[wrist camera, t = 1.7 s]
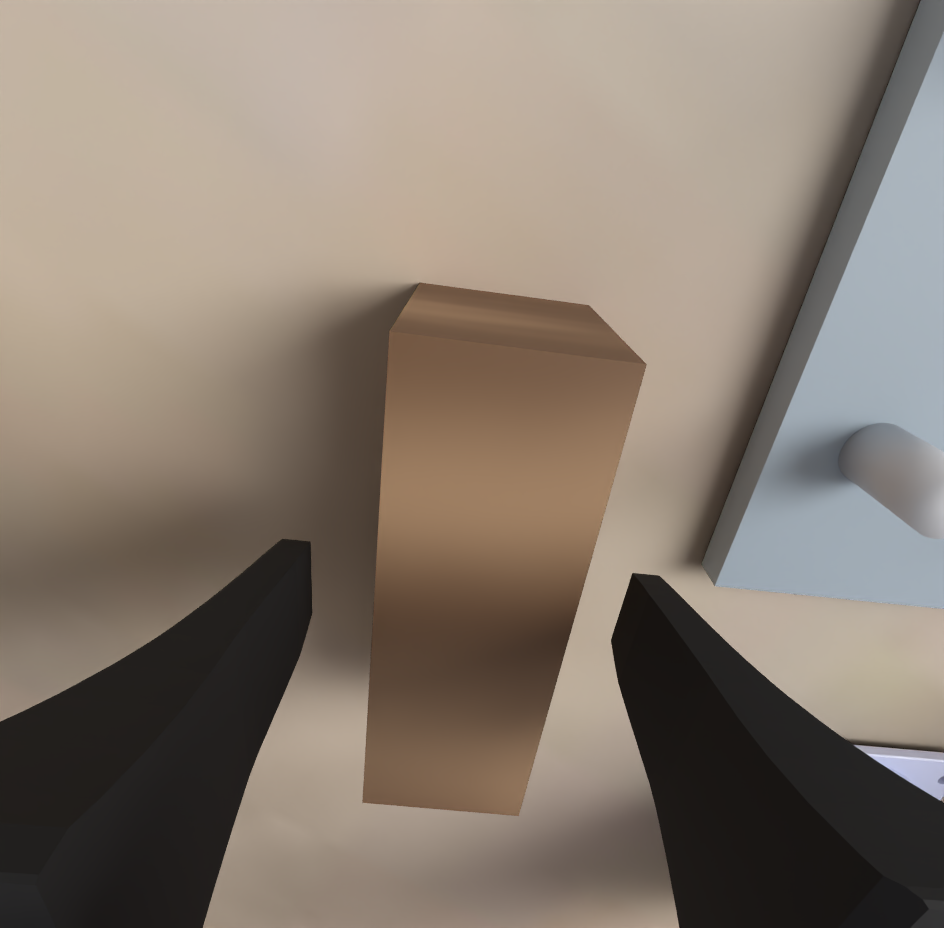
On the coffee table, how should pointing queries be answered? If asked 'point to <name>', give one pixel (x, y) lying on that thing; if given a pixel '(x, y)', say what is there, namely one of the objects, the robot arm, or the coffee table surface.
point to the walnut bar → (485, 535)
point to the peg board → (860, 380)
